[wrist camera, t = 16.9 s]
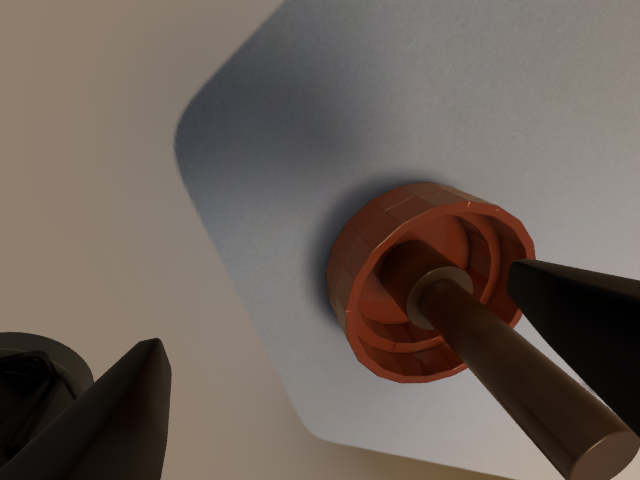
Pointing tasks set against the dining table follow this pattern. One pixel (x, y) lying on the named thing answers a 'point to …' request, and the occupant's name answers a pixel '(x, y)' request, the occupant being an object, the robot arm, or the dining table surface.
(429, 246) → the pestle
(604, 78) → the dining table surface
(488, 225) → the bowl
